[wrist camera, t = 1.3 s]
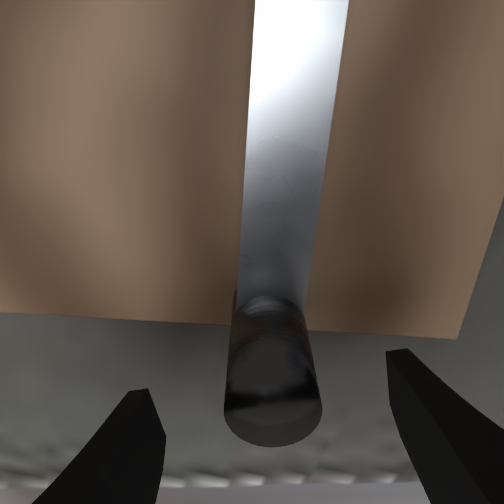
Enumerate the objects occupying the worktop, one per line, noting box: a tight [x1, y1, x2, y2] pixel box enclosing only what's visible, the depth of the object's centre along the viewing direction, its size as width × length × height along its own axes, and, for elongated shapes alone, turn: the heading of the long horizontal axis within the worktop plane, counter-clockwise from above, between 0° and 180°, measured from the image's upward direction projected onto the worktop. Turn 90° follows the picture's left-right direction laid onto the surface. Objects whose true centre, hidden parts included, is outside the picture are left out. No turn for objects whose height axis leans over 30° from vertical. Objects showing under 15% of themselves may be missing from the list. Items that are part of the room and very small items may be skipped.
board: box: [0, 0, 504, 339], centre depth 13 cm, size 21×20×4 cm
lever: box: [224, 0, 349, 447], centre depth 12 cm, size 18×4×6 cm, turn 176°
